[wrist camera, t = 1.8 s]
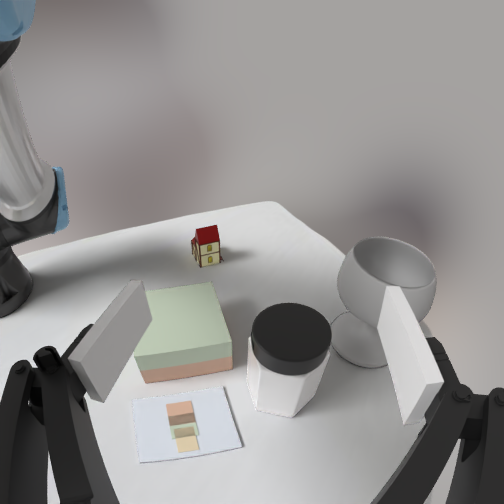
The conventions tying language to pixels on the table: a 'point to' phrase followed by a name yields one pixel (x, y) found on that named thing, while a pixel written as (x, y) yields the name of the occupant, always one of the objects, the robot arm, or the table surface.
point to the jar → (287, 357)
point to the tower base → (184, 334)
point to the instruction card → (183, 425)
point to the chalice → (378, 294)
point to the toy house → (206, 246)
